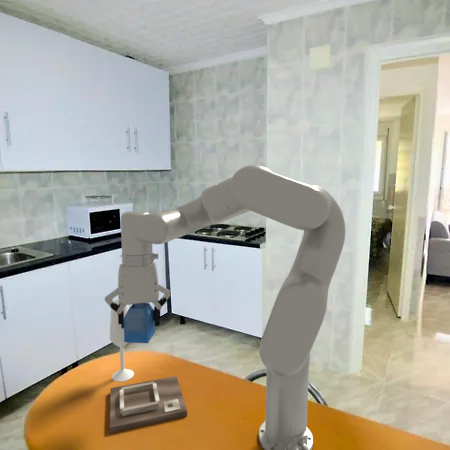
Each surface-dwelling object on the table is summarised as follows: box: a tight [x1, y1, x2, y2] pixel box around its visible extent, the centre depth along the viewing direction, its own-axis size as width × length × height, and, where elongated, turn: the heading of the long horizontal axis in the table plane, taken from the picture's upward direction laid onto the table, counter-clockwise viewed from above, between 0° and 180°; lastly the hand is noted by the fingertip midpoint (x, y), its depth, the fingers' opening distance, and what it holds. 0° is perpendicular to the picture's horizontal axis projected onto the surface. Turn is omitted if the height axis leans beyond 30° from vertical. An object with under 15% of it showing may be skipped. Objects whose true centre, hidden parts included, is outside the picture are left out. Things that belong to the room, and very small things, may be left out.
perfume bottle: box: [124, 303, 156, 344], centre depth 87 cm, size 6×6×12 cm
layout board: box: [109, 375, 188, 434], centre depth 90 cm, size 16×19×3 cm
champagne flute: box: [109, 298, 135, 383], centre depth 102 cm, size 7×7×24 cm
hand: (139, 324), depth 87 cm, fingers closed on perfume bottle, 8 cm apart
